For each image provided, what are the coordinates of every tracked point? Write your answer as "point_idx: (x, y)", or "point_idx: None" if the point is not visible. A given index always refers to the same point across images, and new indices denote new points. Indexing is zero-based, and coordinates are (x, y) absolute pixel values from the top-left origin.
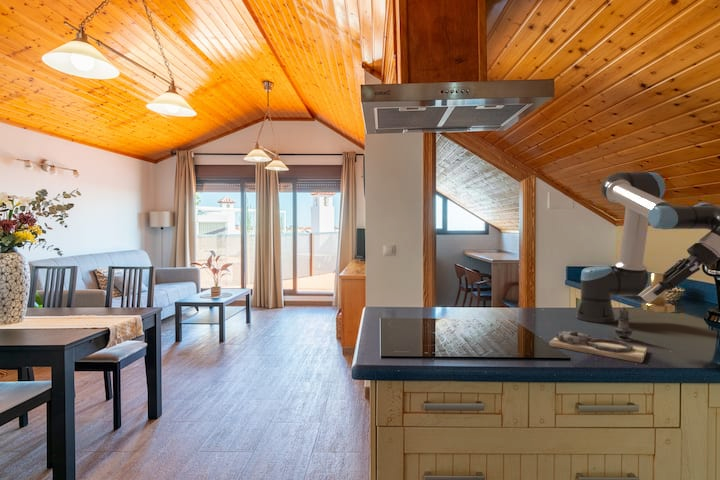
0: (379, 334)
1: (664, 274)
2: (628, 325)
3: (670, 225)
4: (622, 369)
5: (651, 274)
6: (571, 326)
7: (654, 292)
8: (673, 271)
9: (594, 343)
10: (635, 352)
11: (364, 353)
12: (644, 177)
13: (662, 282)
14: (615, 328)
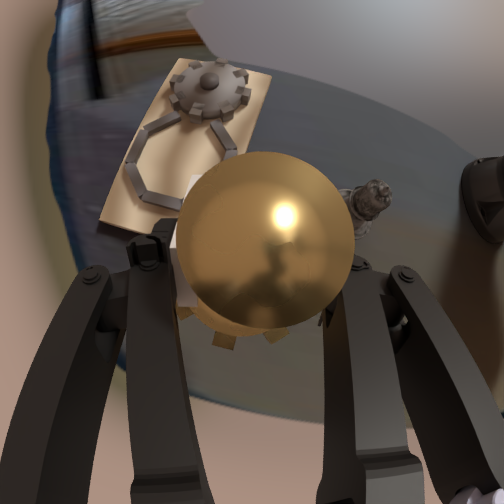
0: None
1: (200, 297)
2: (352, 222)
3: None
4: (56, 180)
5: (242, 158)
6: (400, 127)
7: (159, 223)
8: (347, 434)
9: (198, 130)
10: (142, 212)
11: None
12: None
13: (143, 264)
14: (345, 191)
